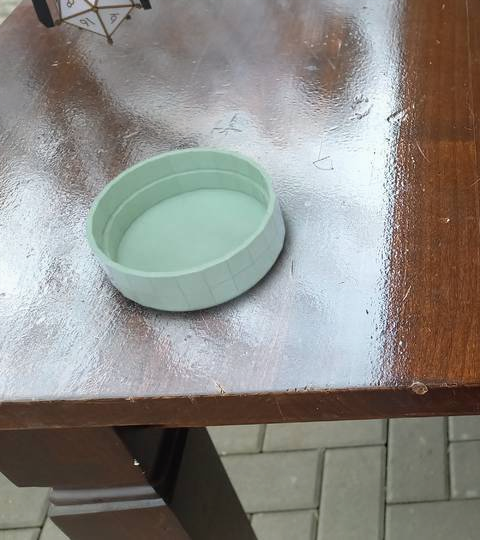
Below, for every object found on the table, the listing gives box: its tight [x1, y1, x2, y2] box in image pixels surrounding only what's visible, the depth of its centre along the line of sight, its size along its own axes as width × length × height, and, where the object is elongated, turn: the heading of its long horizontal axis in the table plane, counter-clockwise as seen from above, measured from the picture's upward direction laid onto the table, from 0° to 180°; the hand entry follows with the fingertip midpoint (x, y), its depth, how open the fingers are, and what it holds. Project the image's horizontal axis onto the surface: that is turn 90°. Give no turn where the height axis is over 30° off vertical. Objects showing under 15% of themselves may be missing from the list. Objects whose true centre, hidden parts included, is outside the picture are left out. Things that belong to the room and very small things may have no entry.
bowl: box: [84, 147, 286, 312], centre depth 72 cm, size 18×18×6 cm
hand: (97, 14), depth 69 cm, fingers closed on game die, 8 cm apart
